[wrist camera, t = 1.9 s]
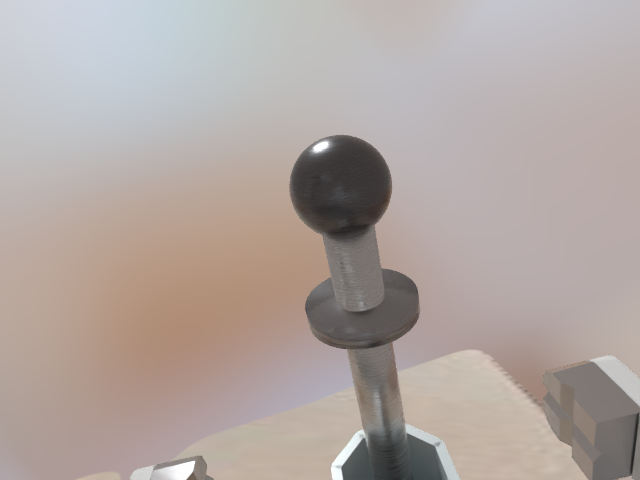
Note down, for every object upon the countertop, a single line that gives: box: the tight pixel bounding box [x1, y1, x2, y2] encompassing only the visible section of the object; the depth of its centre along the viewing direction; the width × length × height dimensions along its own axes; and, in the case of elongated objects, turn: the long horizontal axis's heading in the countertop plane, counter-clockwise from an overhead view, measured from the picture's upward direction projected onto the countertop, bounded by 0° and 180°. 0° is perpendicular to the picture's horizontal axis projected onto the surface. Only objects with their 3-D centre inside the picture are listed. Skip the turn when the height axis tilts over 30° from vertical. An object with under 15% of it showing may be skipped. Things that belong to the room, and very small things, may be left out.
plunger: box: [290, 135, 420, 480], centre depth 25 cm, size 6×6×26 cm
